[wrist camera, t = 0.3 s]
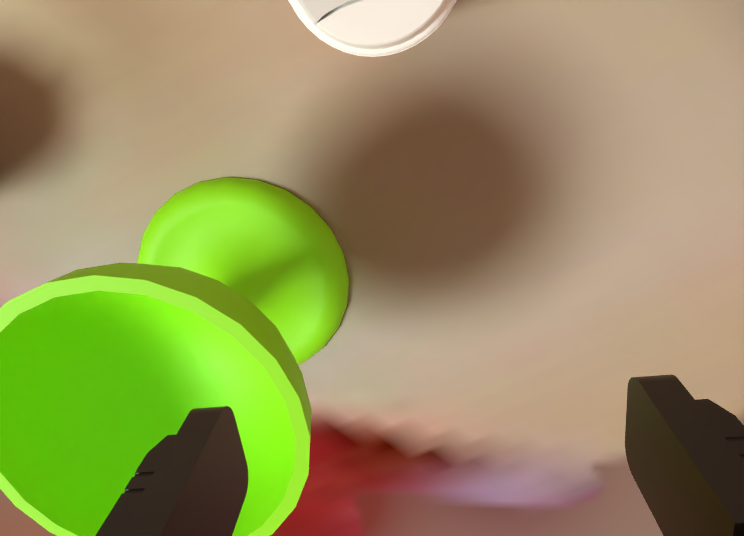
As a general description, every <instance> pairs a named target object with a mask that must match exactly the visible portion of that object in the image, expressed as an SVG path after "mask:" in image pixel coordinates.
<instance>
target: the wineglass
mask: <svg viewBox="0 0 744 536" xmlns="http://www.w3.org/2000/svg"><path fill="white" fill-rule="evenodd" d="M348 288H349V277H348V272H347V267H346V263H345V258H344V254H343V251H342V250H341V248H340V246H339V244H338V242H337V240H336V238H335V236H334V234H333V232H332V230H331V228H330V227H329V226H328V225H327V224H326V223H325V222H324V221H323V220H322V218H321V217H320V216H319V215H318V214H317V213H316V212H315V211H314V210H313V208H312V207H311V206H309V205H308V204H306V203H305V202H303V201H302V200H300V199H299V198H297V197H296V196H294V195H293V194H291V193H290V192H288V191H287V190H285V189H282V188H279V187H277V186H274V185H271V184H268V183H265V182H263V181H260V180H256V179H245V178H234V177H224V178H218V179H213V180H207V181H201V182H198V183H196V184H194V185H192V186H190V187H188V188H186V189H184V190H182V191H180V192H178V193H176V194H174V195H173V196H172V197H171V198H170V199H169V200H168V201H167V202H166V203H165V204H164V205H163V206H162V207H161V208H159V209H158V210H157V211H156V212H155V214H154V216H153V218H152V220H151V221H150V223H149V225H148V227H147V229H146V230H145V232H144V234H143V237H142V242H141V247H140V252H139V256H138V264H136V263H116V264H110V265H104V266H97V267H91V268H85V269H79V270H76V271H73V272H71V273H69V274H66V275H64V276H61V277H59V278H57V279H54V280H52V281H49V282H47V283H45V284H43V285H41V286H39V287H37V288H35V289H32V290H30V291H28V292H26V293H24V294H22V295H20V296H18V297H16V298H14V299H12V300H10V301H8V302H6V303H5V304H4V305H3V306H2V307H1V308H0V489H1V490H2V491H3V492H4V493H5V494H6V496H7V497H8V498H9V499H10V500H11V501H12V503H13V504H14V505H15V506H16V507H18V508H19V509H20V510H21V511H23V512H24V513H25V514H27V515H28V516H29V517H31V518H32V519H33V520H35V521H36V522H37V523H38V524H40V525H41V526H43V527H44V528H45V529H46V530H48V531H49V532H51V533H53V534H55V535H57V536H95V535H96V534H97V532H98V531H99V529H100V527H101V526H102V524H103V523H104V521H105V519H106V518H107V516H108V515H109V513H110V511H111V510H112V508H113V507H114V505H115V504H116V502H117V500H118V499H119V497H120V496H121V494H124V492H125V490H124V489H125V488H126V486H127V484H128V483H129V481H130V480H131V478H132V477H135V472H136V470H137V468H138V467H139V465H140V464H141V462H142V460H143V459H144V457H145V456H146V454H147V453H148V452H149V451H150V450H151V449H152V448H153V447H155V446H156V445H157V444H158V443H159V442H160V441H161V440H163V439H164V438H165V437H166V436H167V435H175V434H177V433H178V431H179V429H180V427H181V426H182V424H183V422H184V421H185V419H186V417H187V415H188V414H189V412H190V411H191V410H192V409H196V408H209V407H223V406H229V407H230V408H231V409H232V411H233V413H234V416H235V420H236V423H237V427H238V431H239V435H240V439H241V442H242V446H243V450H244V454H245V458H246V461H247V466H248V489H247V494H246V497H245V500H244V503H243V506H242V509H241V512H240V514H239V517H238V520H237V523H236V526H235V529H234V532H233V534H232V536H270V535H271V534H273V533H274V532H275V531H276V529H277V528H278V527H279V526H280V525H281V523H282V522H283V521H284V520H285V519H286V518H287V516H288V515H289V514H290V513H291V512H292V511H293V509H294V508H295V507H296V504H297V502H298V499H299V497H300V494H301V492H302V489H303V487H304V484H305V482H306V479H307V477H308V473H309V451H310V430H311V406H310V402H309V398H308V394H307V391H306V387H305V383H304V379H303V376H302V372H301V370H300V368H299V366H298V364H301V363H303V362H305V361H306V360H308V359H309V358H310V357H312V356H313V355H314V354H316V353H317V352H318V351H320V350H321V349H322V348H324V346H325V345H326V344H327V342H328V341H329V340H330V339H331V337H332V336H333V335H334V333H335V332H336V331H337V329H338V328H339V326H340V323H341V320H342V318H343V315H344V312H345V310H346V307H347V302H348Z"/></svg>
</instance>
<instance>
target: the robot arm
mask: <svg viewBox="0 0 744 536" xmlns="http://www.w3.org/2000/svg"><path fill="white" fill-rule="evenodd" d="M625 449H626V456H627V461H628V464H629V468H630V471H631V473H632V475H633V477H634V479H635V481H636V483H637V485H638V487H639V489H640V491H641V493H642V495H643V497H644V499H645V501H646V503H647V504H648V506H649V508H650V510H651V512H652V514H653V516H654V518H655V520H656V522H657V524H658V526H659V528H660V530H661V531H662V533H663V535H664V536H744V425H743V424H742V423H741V422H740V421H739V420H738V419H737V417H736V416H735V415H733V414H732V413H730V412H728V411H727V410H725V409H723V408H722V407H720V406H719V405H717V404H715V403H714V402H712V401H710V400H709V399H701V400H694V398H693V397H692V396H691V395H690V393H689V392H688V391H687V390H686V388H685V387H684V386H683V385H682V383H681V382H680V381H679V380H678V378H677V377H676V376H674V375H660V376H646V377H633V378H631V379H630V380H629V383H628V392H627V412H626V432H625ZM247 489H248V466H247V461H246V458H245V454H244V450H243V446H242V442H241V439H240V435H239V431H238V427H237V423H236V420H235V416H234V413H233V411H232V409H231V408H230V407H229V406H223V407H209V408H196V409H192V410H191V411H190V412H189V414H188V415H187V417H186V419H185V421H184V422H183V424H182V426H181V427H180V429H179V431H178V433H177V434H175V435H167V436H166V437H165V438H164V439H163V440H161V441H160V442H159V443H158V444H157V445H156V446H155V447H153V448H152V449H151V450H150V451H149V452H148V453H147V454H146V456H145V457H144V459H143V460H142V462H141V464H140V465H139V467H138V468H137V470H136V472H135V477H132V478H131V480H130V481H129V483H128V484H127V486H126V488H125V489H124V490H125V492H124V494H121V496H120V497H119V499H118V500H117V502H116V504H115V505H114V507H113V508H112V510H111V511H110V513H109V515H108V516H107V518H106V519H105V521H104V523H103V524H102V526H101V527H100V529H99V531H98V532H97V534H96V535H95V536H232V534H233V532H234V529H235V526H236V523H237V520H238V517H239V514H240V512H241V509H242V506H243V503H244V500H245V497H246V494H247Z"/></svg>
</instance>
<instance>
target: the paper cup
mask: <svg viewBox="0 0 744 536" xmlns="http://www.w3.org/2000/svg"><path fill="white" fill-rule="evenodd" d="M288 1H289V3H290V4H291V6H292V7H293V9H294V11H295V12H296V14H297V16H298V17H299V18H300V20H301V21H302V22H303V23H304V24H305V26H306V27H307V28H308V29H309V30H310V31H311V32H312V33H314V34H315V35H316V36H317V37H318V38H319V39H321V40H322V41H324V42H325V43H327V44H329V45H330V46H332V47H334V48H336V49H339V50H341V51H343V52H346V53H350V54H354V55H358V56H369V57H377V56H387V55H391V54H395V53H399V52H402V51H404V50H406V49H409V48H411V47H413V46H415V45H416V44H418V43H420V42H421V41H423V40H424V39H426V38H427V37H428V36H429V35H430V34H431V33H433V32H434V31H435V30H436V29H437V28H438V27H439V26H440V25H441V23H442V22H443V21H444V20H445V18H446V17H447V16H448V15H449V13H450V11H451V10H452V8H453V6H454V5H455V3H456V1H457V0H288Z"/></svg>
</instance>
